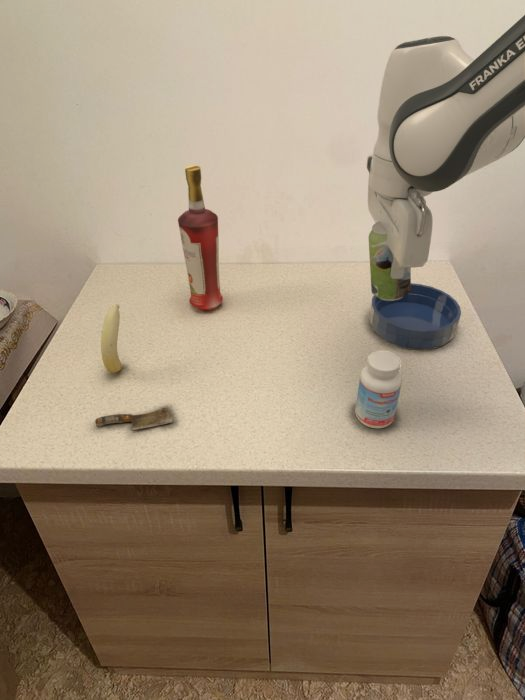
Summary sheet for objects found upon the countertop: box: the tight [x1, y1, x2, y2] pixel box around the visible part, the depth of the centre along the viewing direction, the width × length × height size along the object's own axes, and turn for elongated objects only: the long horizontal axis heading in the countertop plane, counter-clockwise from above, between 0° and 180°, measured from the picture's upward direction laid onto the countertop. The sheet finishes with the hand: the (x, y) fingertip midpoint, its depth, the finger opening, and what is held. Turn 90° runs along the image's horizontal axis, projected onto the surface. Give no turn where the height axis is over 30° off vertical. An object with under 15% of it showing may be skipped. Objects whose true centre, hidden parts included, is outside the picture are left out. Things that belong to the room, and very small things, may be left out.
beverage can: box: [368, 221, 412, 301], centre depth 77 cm, size 6×7×12 cm
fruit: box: [100, 303, 122, 374], centre depth 84 cm, size 6×12×3 cm
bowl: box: [368, 282, 462, 351], centre depth 96 cm, size 16×16×4 cm
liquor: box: [177, 165, 224, 312], centre depth 95 cm, size 7×7×28 cm
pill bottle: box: [354, 350, 403, 429], centre depth 75 cm, size 6×6×11 cm
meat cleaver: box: [94, 406, 174, 431], centre depth 78 cm, size 12×1×5 cm
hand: (389, 264), depth 77 cm, fingers closed on beverage can, 5 cm apart
